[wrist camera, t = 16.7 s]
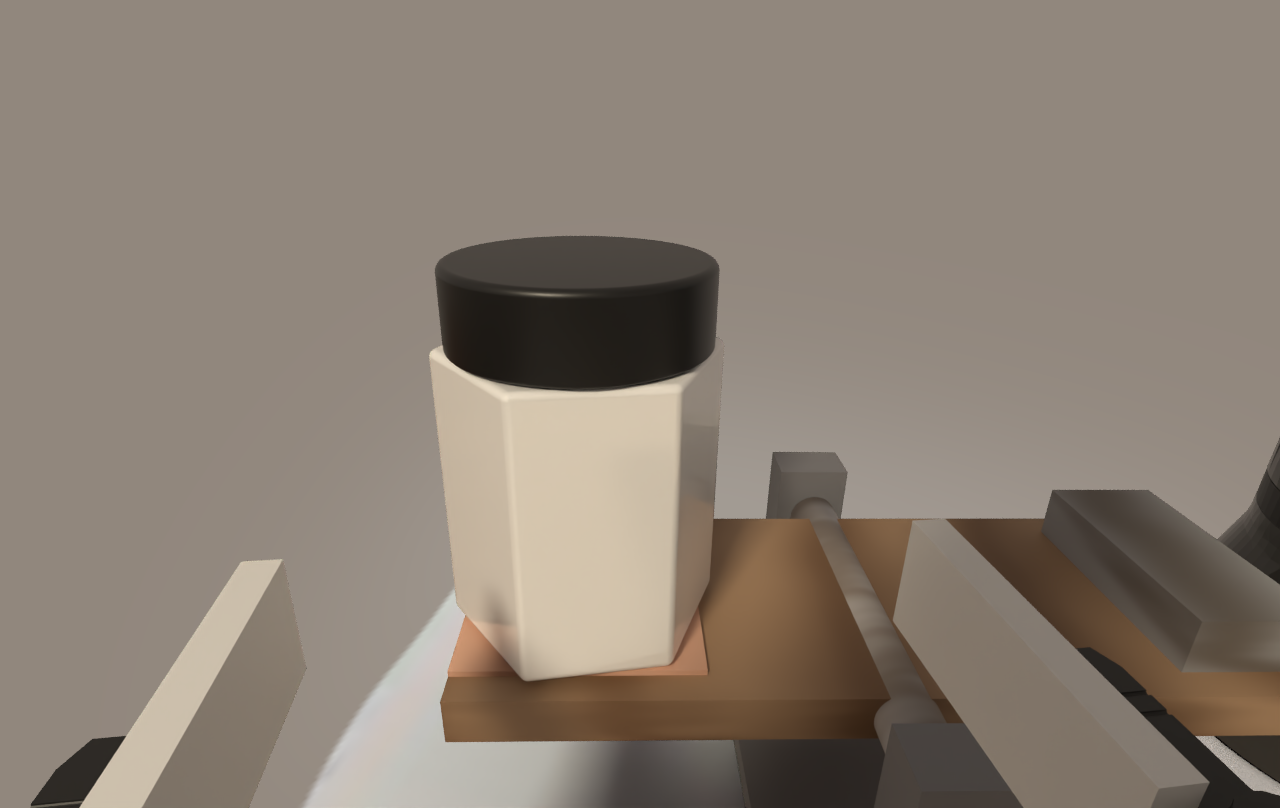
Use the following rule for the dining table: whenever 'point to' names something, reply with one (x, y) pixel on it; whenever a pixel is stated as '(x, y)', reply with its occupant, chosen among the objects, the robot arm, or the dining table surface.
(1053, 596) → the beam
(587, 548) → the jar
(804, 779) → the pivot stand
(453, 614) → the dining table surface
